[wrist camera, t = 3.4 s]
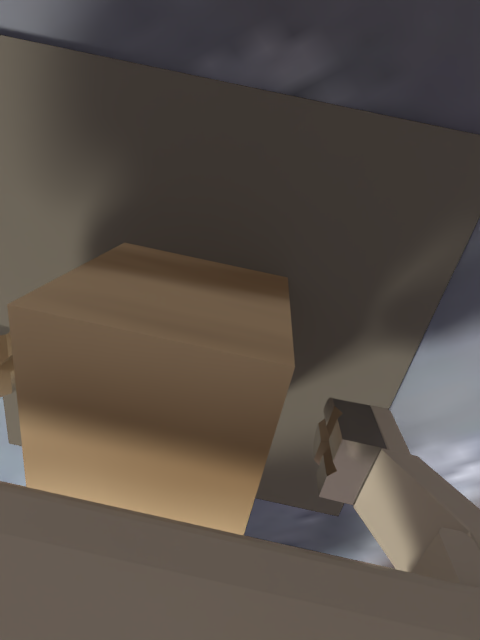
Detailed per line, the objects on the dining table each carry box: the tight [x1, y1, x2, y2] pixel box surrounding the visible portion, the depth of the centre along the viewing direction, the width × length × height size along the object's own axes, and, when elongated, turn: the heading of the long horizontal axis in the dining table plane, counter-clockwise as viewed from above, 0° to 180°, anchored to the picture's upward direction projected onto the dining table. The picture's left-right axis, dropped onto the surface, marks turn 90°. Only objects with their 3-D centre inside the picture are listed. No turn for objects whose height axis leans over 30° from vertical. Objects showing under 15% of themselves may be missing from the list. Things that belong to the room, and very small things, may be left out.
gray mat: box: [0, 35, 480, 516], centre depth 12 cm, size 14×14×1 cm
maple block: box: [7, 243, 295, 535], centre depth 9 cm, size 5×5×5 cm
